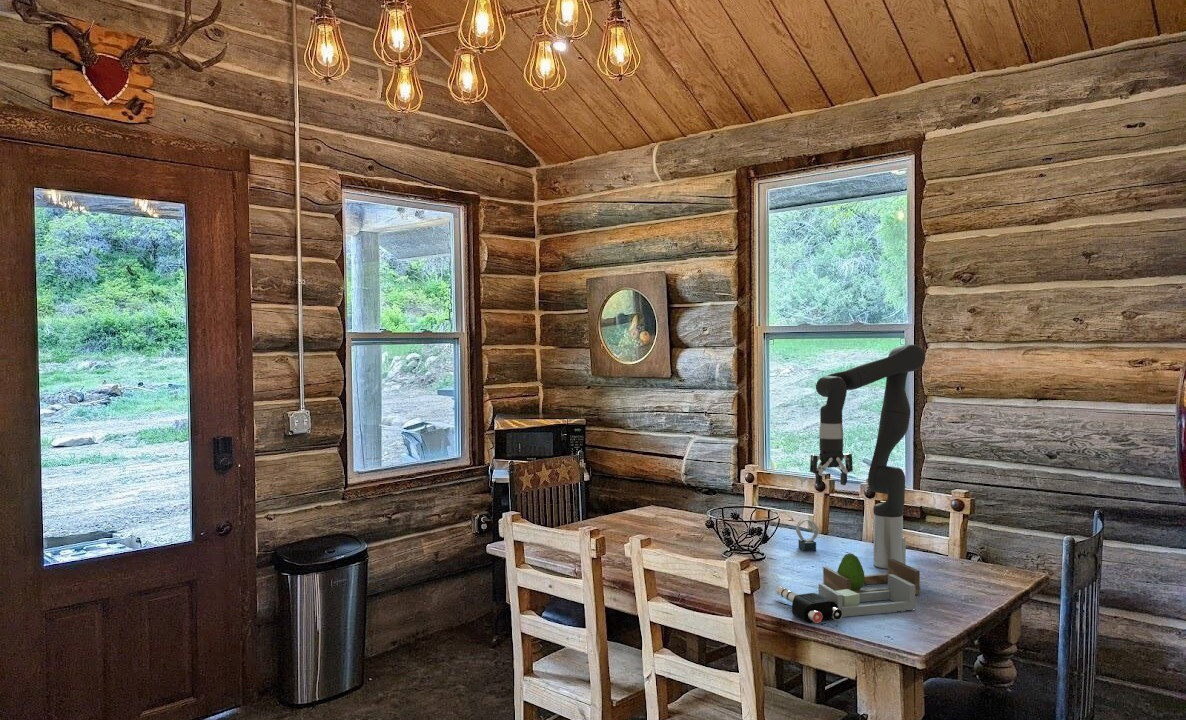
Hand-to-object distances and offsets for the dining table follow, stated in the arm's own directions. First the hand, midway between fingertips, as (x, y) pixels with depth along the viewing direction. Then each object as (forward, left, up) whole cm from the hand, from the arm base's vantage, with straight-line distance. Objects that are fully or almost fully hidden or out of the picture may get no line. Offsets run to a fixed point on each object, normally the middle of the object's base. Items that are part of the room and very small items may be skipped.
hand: (831, 485), depth 269 cm
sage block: (+17, +39, -28) cm, 50 cm away
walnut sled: (+2, +25, -28) cm, 37 cm away
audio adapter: (+29, +36, -28) cm, 54 cm away
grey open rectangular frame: (+11, +39, -28) cm, 49 cm away
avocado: (+8, +26, -28) cm, 38 cm away
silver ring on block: (-3, -24, -28) cm, 37 cm away
